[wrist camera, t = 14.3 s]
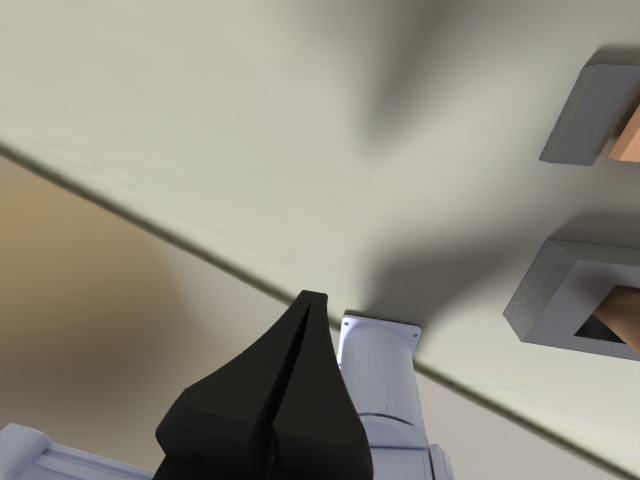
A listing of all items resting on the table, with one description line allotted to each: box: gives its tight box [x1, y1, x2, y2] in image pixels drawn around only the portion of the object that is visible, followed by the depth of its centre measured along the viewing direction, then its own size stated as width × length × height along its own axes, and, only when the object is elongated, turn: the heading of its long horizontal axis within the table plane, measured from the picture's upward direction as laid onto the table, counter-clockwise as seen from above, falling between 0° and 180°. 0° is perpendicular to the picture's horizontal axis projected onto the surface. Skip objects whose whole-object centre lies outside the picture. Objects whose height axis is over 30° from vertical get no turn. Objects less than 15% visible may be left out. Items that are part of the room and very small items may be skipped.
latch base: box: [539, 64, 640, 166], centre depth 14 cm, size 5×2×1 cm, turn 177°
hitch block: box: [503, 239, 640, 361], centre depth 18 cm, size 8×11×3 cm
